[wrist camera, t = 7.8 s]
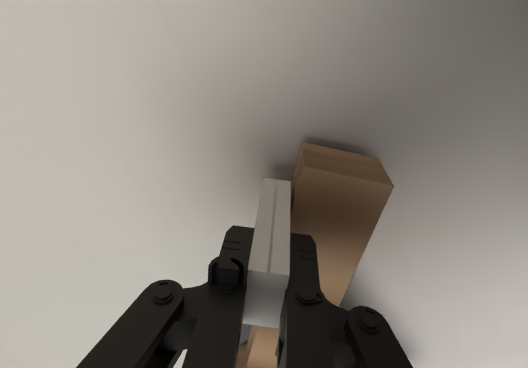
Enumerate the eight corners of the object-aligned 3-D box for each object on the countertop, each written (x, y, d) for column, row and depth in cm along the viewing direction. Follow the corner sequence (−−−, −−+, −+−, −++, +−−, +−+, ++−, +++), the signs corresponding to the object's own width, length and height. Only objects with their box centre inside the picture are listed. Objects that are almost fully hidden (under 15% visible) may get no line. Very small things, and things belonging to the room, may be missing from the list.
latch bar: (294, 392, 27) (294, 466, 23) (225, 378, 27) (212, 450, 23) (396, 162, 17) (433, 216, 12) (283, 137, 16) (280, 183, 12)
